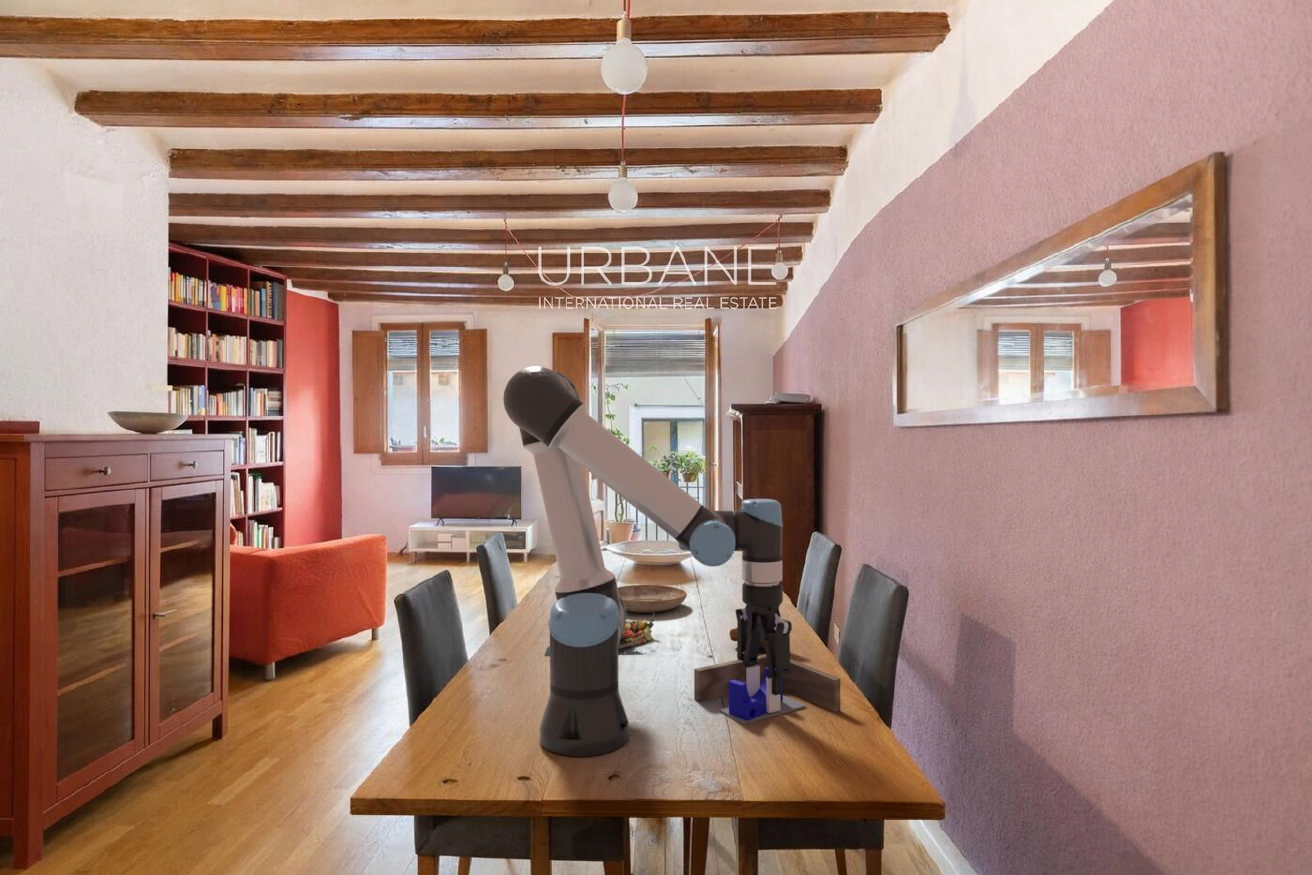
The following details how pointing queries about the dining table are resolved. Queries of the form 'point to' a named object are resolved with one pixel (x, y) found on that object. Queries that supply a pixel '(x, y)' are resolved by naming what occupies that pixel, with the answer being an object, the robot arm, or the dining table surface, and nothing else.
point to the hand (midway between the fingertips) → (763, 705)
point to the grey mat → (785, 707)
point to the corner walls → (798, 682)
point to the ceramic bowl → (650, 598)
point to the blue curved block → (748, 699)
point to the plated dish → (631, 637)
